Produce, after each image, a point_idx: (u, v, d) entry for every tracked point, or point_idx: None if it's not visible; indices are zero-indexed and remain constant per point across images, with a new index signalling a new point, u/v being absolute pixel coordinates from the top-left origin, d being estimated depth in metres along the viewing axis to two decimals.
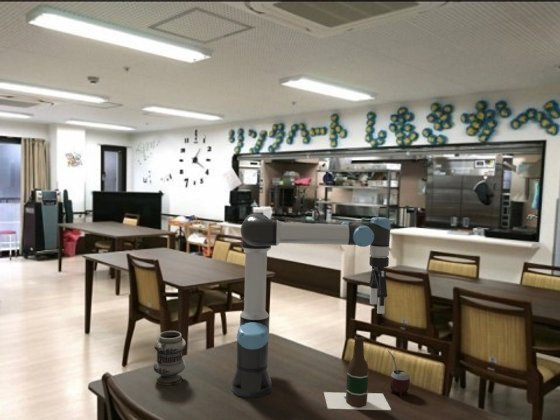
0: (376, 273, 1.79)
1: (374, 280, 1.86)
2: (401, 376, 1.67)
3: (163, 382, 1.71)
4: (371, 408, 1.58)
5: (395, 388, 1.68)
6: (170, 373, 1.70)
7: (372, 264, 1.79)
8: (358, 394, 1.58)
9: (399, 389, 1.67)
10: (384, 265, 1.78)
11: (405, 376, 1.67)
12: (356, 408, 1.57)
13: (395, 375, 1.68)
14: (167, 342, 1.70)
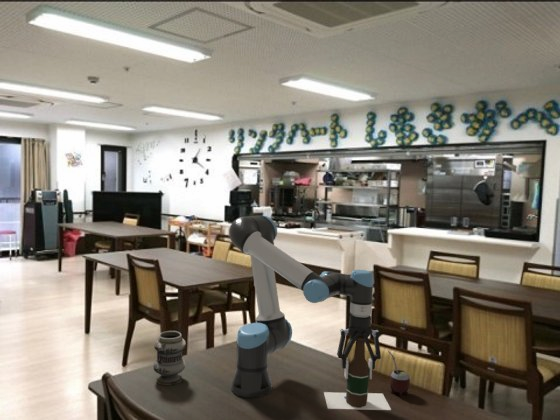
0: None
1: (366, 345, 1.61)
2: (401, 376, 1.67)
3: (163, 382, 1.71)
4: (371, 408, 1.58)
5: (395, 388, 1.68)
6: (170, 373, 1.70)
7: None
8: (358, 394, 1.58)
9: (399, 389, 1.67)
10: (351, 323, 1.59)
11: (405, 376, 1.67)
12: (356, 408, 1.57)
13: (395, 375, 1.68)
14: (167, 342, 1.70)
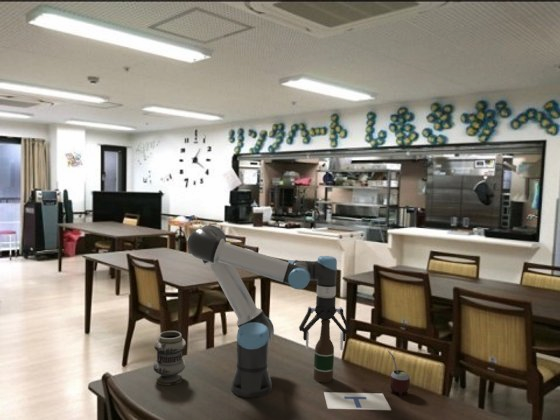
0: None
1: None
2: (401, 376, 1.67)
3: (163, 382, 1.71)
4: (371, 408, 1.58)
5: (395, 388, 1.68)
6: (170, 373, 1.70)
7: None
8: (324, 371, 1.76)
9: (399, 389, 1.67)
10: (317, 304, 1.77)
11: (405, 376, 1.67)
12: (356, 408, 1.57)
13: (395, 375, 1.68)
14: (167, 342, 1.70)
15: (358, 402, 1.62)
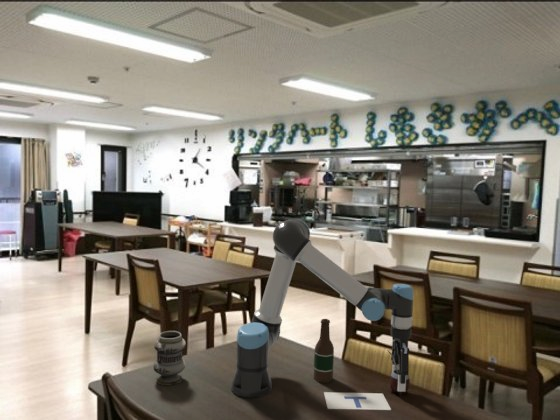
0: (398, 346, 1.67)
1: (396, 353, 1.72)
2: None
3: (163, 382, 1.71)
4: (371, 408, 1.58)
5: (395, 388, 1.68)
6: (170, 373, 1.70)
7: (394, 335, 1.67)
8: (323, 371, 1.76)
9: None
10: (407, 337, 1.65)
11: None
12: (356, 408, 1.57)
13: (395, 375, 1.68)
14: (167, 342, 1.70)
15: (358, 402, 1.62)
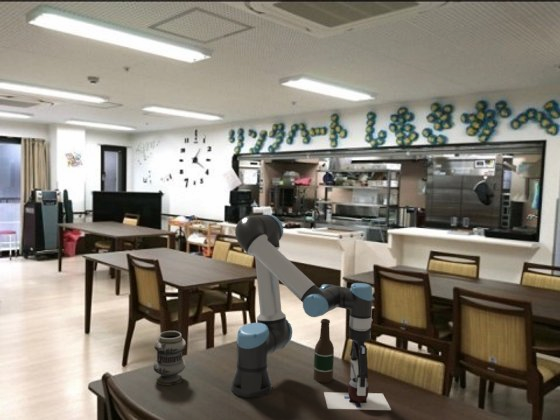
0: (356, 348, 1.59)
1: (355, 352, 1.65)
2: None
3: (163, 382, 1.71)
4: (371, 408, 1.58)
5: (353, 397, 1.60)
6: (170, 373, 1.70)
7: (352, 337, 1.58)
8: (323, 371, 1.76)
9: (357, 398, 1.59)
10: (365, 339, 1.57)
11: None
12: (356, 408, 1.57)
13: (353, 383, 1.60)
14: (167, 342, 1.70)
15: None
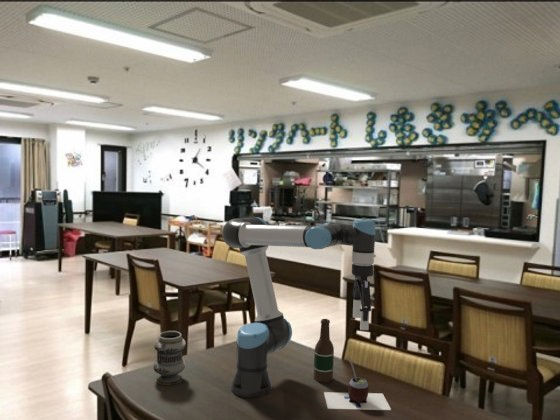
0: (359, 283, 1.57)
1: (357, 291, 1.64)
2: (359, 384, 1.59)
3: (163, 382, 1.71)
4: (371, 408, 1.58)
5: (353, 397, 1.60)
6: (170, 373, 1.70)
7: (354, 273, 1.57)
8: (323, 371, 1.76)
9: (357, 398, 1.59)
10: (368, 274, 1.56)
11: (363, 384, 1.59)
12: (356, 408, 1.57)
13: (353, 383, 1.60)
14: (167, 342, 1.70)
15: None
